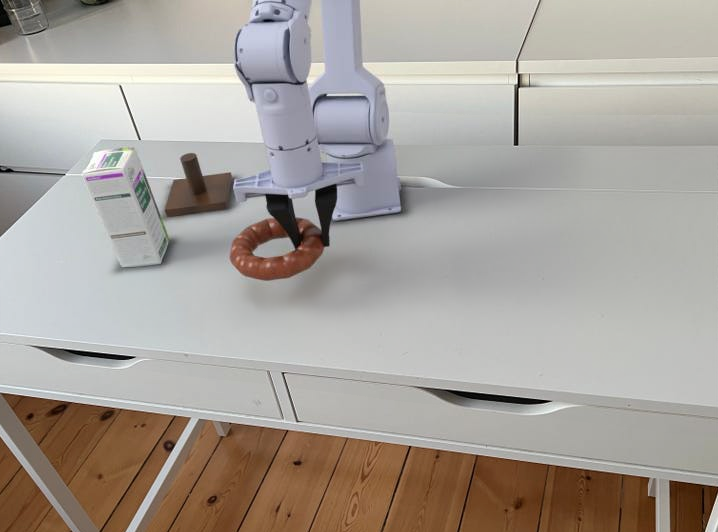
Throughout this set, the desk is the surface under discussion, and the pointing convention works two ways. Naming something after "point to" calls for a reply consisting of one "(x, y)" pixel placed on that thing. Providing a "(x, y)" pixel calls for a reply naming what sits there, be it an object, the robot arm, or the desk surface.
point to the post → (198, 190)
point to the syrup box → (126, 206)
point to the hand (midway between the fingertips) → (312, 244)
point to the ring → (281, 264)
